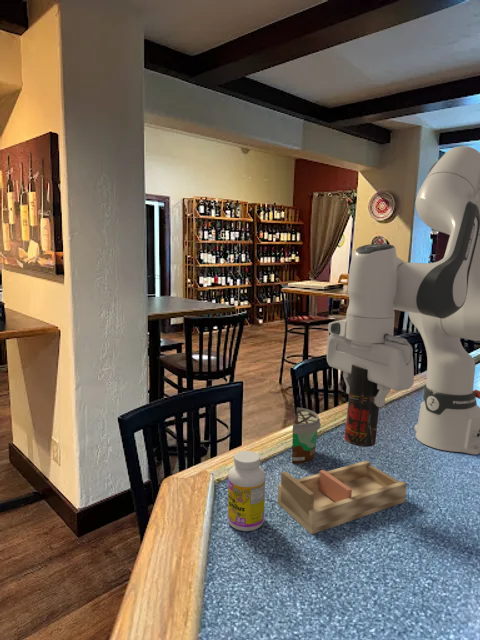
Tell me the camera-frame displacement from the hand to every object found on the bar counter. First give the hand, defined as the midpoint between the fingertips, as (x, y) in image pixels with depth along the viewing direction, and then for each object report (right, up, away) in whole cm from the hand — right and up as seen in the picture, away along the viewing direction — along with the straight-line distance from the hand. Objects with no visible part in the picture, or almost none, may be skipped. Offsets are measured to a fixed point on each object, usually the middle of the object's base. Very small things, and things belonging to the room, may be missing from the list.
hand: (364, 399), depth 90 cm
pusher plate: (-6, -19, 0) cm, 20 cm away
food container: (-8, -18, +21) cm, 29 cm away
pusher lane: (-4, -21, +1) cm, 21 cm away
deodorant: (-1, -8, +1) cm, 9 cm away
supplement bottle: (-23, -22, -5) cm, 32 cm away
